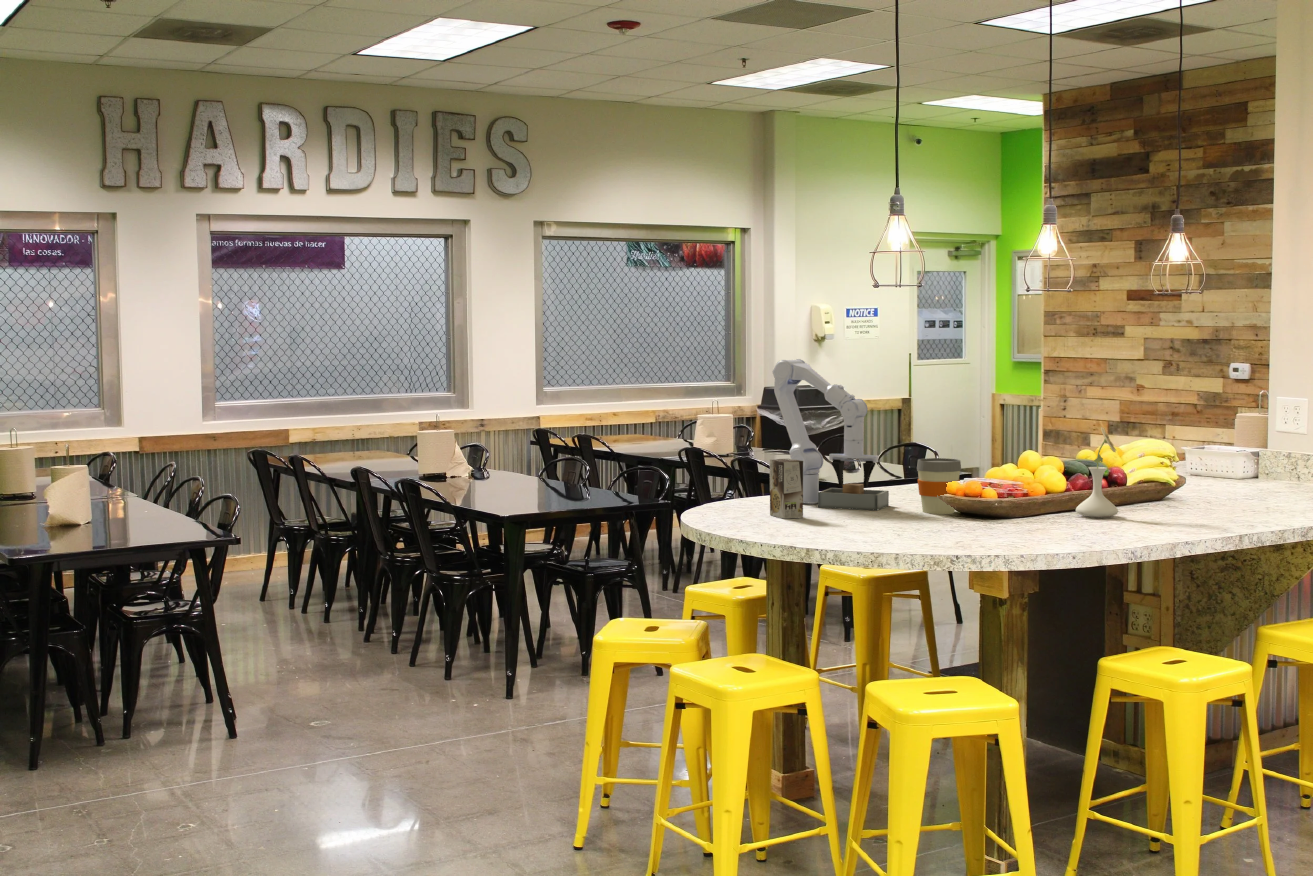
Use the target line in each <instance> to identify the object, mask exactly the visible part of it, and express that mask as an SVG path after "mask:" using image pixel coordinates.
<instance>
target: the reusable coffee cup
mask: <svg viewBox="0 0 1313 876" xmlns="http://www.w3.org/2000/svg"><path fill="white" fill-rule="evenodd" d="M961 463H962V461H961V460H960V459H958V458H956V459H955V458H944V457H943V458H942V457H941V458H940V457H934V458H932V457H930V458H918V459H917V466H916V470H917V474H918V478H917V486H918V494H919V495H920V500H921V508H922V513H925V514H930V515H948V514H949V515H950V514H955V510H956V508H955V509H954V508H953V507H951V506H950V505H947V504H946V503H945V502H943V501H942V500H940V499H939V498H937V495H938V496H940V495H944V494H947V491H946V487H947V484H946V483H948V482H952V481H960V482H961V479H960V474H961V471H962V464H961Z"/></svg>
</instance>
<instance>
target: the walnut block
mask: <svg viewBox="0 0 1313 876" xmlns="http://www.w3.org/2000/svg"><path fill="white" fill-rule="evenodd" d="M842 489H843V493H849V494H864V490H865V487H864V483H845V484H843V485H842Z"/></svg>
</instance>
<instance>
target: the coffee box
mask: <svg viewBox="0 0 1313 876" xmlns="http://www.w3.org/2000/svg"><path fill="white" fill-rule="evenodd" d="M769 516H771V517H772V516H773V517H776V518H781V519H783V520H786V519H800V518H801V519H803V518H804V503H803V461H800V460H794V459H791V458H776V459H769Z"/></svg>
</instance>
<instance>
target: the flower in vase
mask: <svg viewBox="0 0 1313 876" xmlns="http://www.w3.org/2000/svg"><path fill="white" fill-rule="evenodd" d="M1100 430H1101V433H1102V435H1103V437H1104V440H1103V442H1102V443H1101V445H1100V447H1099V450H1098V452H1097V457H1096V458H1095V459H1094V460H1093V462H1094V463H1095V464H1096V466H1088V470H1089V471H1090V473H1091V476H1092V484H1093V486H1092V493H1091V494H1090V495H1089V497H1087V498H1086V499H1084V500H1083V501H1082V502H1080V504H1078V506H1076V508H1075V513H1077V514H1079V515H1082V516H1083V517H1084V516H1085V517H1090V518H1108V517H1112V516H1113V517H1114V516H1116V515H1118V513H1119V509H1118V508H1117V506H1115V504H1113V502H1111V501H1110V500H1109V499H1108V498H1107V497H1105V496H1104V494H1103V491H1102V489H1103V488H1102V487H1103V485H1102V484H1103V482H1102V481H1103V478H1104V475H1105V472H1106V471H1107V470H1108V467H1104V466H1099V463H1100V462H1101V463H1103V462H1104V461H1103V460H1104V458H1103V457H1102V456H1101V454H1100V452H1101V450H1102V448H1103V446H1104V444H1107V445H1108V446H1109V448H1110V450H1111V451H1112V452H1113V453H1116V451H1117V449H1116V448H1115V445H1114V444H1113V442H1112V441H1111V439H1110V436H1109V434H1108V433H1107V432H1106V430H1105V428H1104V427H1102V426H1101V427H1100Z"/></svg>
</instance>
